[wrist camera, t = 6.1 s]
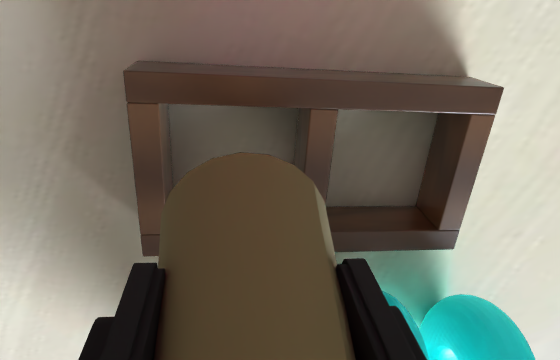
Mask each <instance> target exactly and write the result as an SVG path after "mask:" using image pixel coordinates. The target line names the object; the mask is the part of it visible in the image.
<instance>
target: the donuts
mask: <svg viewBox="0 0 560 360" xmlns="http://www.w3.org/2000/svg"><path fill="white" fill-rule="evenodd" d="M382 292H383V294H384V296H385V298H386V300H387V302H388V304H389V306H396V307H398V308H399V310H400V311H401V312H402V314H403V316H404V318H405V320H406V322H407V323H408V325H409V327H410V329H411V331H412V333H413V335H414V336H415V338H416V340H417V342H418V344H419V346H420V348H421V349H422V351H423V353H424V355H425V357H426V359H427V360H535V357H534V355H533V353H532V351H531V348H530V346H529V344H528V342H527V341H526V339H525V337H524V336H523V334H522V333H521V331H520V330H519V328H518V327H517V326H516V324H515V323H514V322H513V321H512V320H511V319H510V318H509V317H508V316H507V315H506V314H505V313H504V312H503V311H502V310H501V309H499V308H498V307H496V306H495V305H494V304H492V303H490V302H489V301H487V300H484V299H482V298H479V297H476V296H472V295H462V294H460V295H453V296H449V297H446V298H444V299H442V300H440V301H439V302H437V303H436V304H435V305H434V306H433V307H432V308H431V309H430V310H429V311H428V312H427V314H426V315H425V317H424V319H423V321H422V323H421V326H420V328H418V327H417V325H416V323H415V321H414V319H413V318H412V316H411V315H410V313H409V312H408V311H407V309H406V308H405V307H404V306H403V305H402V304H401V303H400V302H399V301H398V300H397V299H396V298H394V297H393V296H391V295H390V294H388V293H386V292H384V291H382Z"/></svg>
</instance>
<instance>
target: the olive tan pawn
mask: <svg viewBox="0 0 560 360" xmlns="http://www.w3.org/2000/svg"><path fill="white" fill-rule="evenodd" d="M336 266H337V262H336V257H335V252H334V247H333V242H332V237H331V232H330V227H329V222H328V217H327V212H326V207H325V202H324V200H323V198H322V196H321V194H320V193H319V191H318V189H317V187H316V185H315V184H314V182H313V181H312V180H311V179H310V178H309V177H308V176H306V175H305V174H304V173H303V172H302V171H301V170H299V169H298V168H297V167H296V166H295V165H293V164H291V163H288V162H286V161H283V160H281V159H278V158H276V157H273V156H271V155H266V154H254V153H242V152H240V153H235V154H231V155H226V156H221V157H217V158H212V159H210V160H209V161H207V162H205V163H203V164H201V165H200V166H198V167H196V168H194V169H192V170H191V171H189V172H187V174H186V175H185V176H184V177H183V178H182V179H181V180H180V181H179V182H178V183H177V185H176V186H175V187H174V188H173V189H172V190H171V191H170V193H169V196H168V198H167V201H166V203H165V206H164V208H163V211H162V213H161V225H160V243H159V262H158V268H165V280H164V287H163V295H162V302H161V309H160V316H159V323H158V330H157V338H156V345H155V352H154V359H153V360H356V358H355V353H354V348H353V343H352V338H351V333H350V328H349V323H348V318H347V313H346V308H345V303H344V299H343V296H342V292H341V288H340V284H339V280H338V277H337V273H336Z"/></svg>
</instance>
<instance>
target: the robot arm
mask: <svg viewBox="0 0 560 360" xmlns="http://www.w3.org/2000/svg"><path fill="white" fill-rule="evenodd" d="M336 273H337V277H338V280H339V284H340V288H341V292H342V296H343V299H344V303H345V308H346V313H347V318H348V323H349V328H350V333H351V338H352V343H353V348H354V353H355V358H356V360H427V359H426V357H425V355H424V353H423V351H422V349H421V348H420V346H419V344H418V342H417V340H416V338H415V336H414V335H413V333H412V331H411V329H410V327H409V325H408V323H407V322H406V320H405V318H404V316H403V314H402V312H401V311H400V310H399V308H398V307H396V306H389V304H388V302H387V300H386V298H385V296H384V294H383V292H382V290H381V288H380V286H379V284H378V282H377V281H376V279H375V277H374V275H373V273H372V271H371V269H370V267H369V265H368V263H367V261H366V260H365V259H364V258H357V259H344V260H343V262H342V264H337V266H336ZM164 280H165V268H158V266H157V263H134V264H133V266H132V269H131V272H130V274H129V277H128V280H127V283H126V286H125V288H124V291H123V294H122V297H121V300H120V303H119V305H118V308H117V311H116V314H115V317H98V318H97V319H96V320H95V322H94V324H93V326H92V328H91V330H90V333H89V335H88V338H87V340H86V342H85V345H84V347H83V350H82V352H81V355H80V357H79V360H153V359H154V352H155V345H156V338H157V330H158V323H159V316H160V309H161V302H162V295H163V287H164Z"/></svg>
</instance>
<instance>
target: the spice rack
mask: <svg viewBox="0 0 560 360" xmlns="http://www.w3.org/2000/svg"><path fill="white" fill-rule="evenodd" d="M123 74H124V83H125V93H126V101H127V111H128V120H129V130H130V140H131V149H132V159H133V168H134V178H135V187H136V197H137V206H138V216H139V225H140V234H141V244H142V254H143V256H144V257H145V256H159V243H160V225H161V213H162V211H163V208H164V206H165V203H166V201H167V198H168V196H169V193H170V191H171V190H172V189H173V174H172V157H171V140H170V123H169V106H168V104H193V105H223V106H253V107H283V108H299V109H298V120H297V132H296V143H295V155H294V165H295V166H296V167H297V168H298V169H299V170H301V171H302V172H303V173H304V174H305V175H306V176H308V177H309V178H310V179H311V180H312V181H313V182H314V184H315V185H316V187H317V189H318V191H319V193H320V194H321V196H322V198H323V200H324V202H325V205H326V197H327V190H328V182H329V175H330V167H331V159H332V152H333V144H334V137H335V129H336V122H337V114H338V110H337V109H343V110H374V111H404V112H434V113H439V114H438V118H437V122H436V126H435V130H434V134H433V139H432V143H431V147H430V151H429V155H428V159H427V163H426V167H425V171H424V175H423V179H422V183H421V187H420V191H419V195H418V199H417V203H416V206H381V207H326V212H327V217H328V222H329V227H330V232H331V237H332V242H333V247H334V252H359V251H402V250H445V249H454V246H455V243H456V240H457V237H458V234H459V229H460V227H461V224H462V220H463V217H464V214H465V211H466V208H467V204H468V201H469V198H470V195H471V192H472V188H473V185H474V182H475V179H476V176H477V172H478V169H479V166H480V163H481V159H482V156H483V153H484V150H485V147H486V143H487V140H488V137H489V134H490V131H491V127H492V124H493V121H494V118H495V115H494V114H496V112H497V109H498V106H499V103H500V99H501V96H502V93H503V90H504V88H503V87H501V86H497V85H494V84H491V83H488V82H484V81H481V80H478V79H475V78H472V77H461V76H441V75H420V74H400V73H379V72H358V71H338V70H317V69H297V68H276V67H255V66H235V65H214V64H194V63H173V62H153V61H137V62H136V63H134V64H133V65H131V66H130V67H128V68H127V69H125V70H124V71H123Z"/></svg>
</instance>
